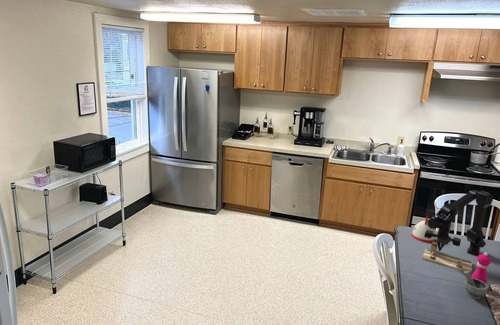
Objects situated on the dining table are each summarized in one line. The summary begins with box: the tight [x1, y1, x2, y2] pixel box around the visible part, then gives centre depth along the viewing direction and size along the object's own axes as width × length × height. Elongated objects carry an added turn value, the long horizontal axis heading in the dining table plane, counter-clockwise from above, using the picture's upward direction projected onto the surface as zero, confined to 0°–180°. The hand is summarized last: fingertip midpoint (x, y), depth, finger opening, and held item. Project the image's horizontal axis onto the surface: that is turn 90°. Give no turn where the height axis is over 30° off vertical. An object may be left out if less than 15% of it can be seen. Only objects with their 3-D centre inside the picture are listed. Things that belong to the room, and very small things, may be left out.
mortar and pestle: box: [463, 271, 489, 300], centre depth 181 cm, size 11×9×12 cm
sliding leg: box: [429, 241, 438, 257], centre depth 216 cm, size 11×3×5 cm, turn 147°
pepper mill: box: [471, 251, 492, 284], centre depth 187 cm, size 7×7×20 cm
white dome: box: [411, 215, 437, 243], centre depth 238 cm, size 14×14×15 cm
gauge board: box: [421, 247, 473, 275], centre depth 212 cm, size 13×25×2 cm, turn 57°
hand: (439, 250), depth 216 cm, fingers closed
